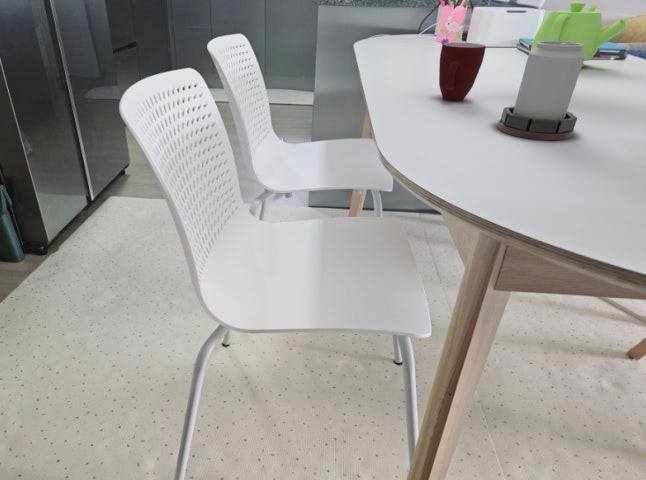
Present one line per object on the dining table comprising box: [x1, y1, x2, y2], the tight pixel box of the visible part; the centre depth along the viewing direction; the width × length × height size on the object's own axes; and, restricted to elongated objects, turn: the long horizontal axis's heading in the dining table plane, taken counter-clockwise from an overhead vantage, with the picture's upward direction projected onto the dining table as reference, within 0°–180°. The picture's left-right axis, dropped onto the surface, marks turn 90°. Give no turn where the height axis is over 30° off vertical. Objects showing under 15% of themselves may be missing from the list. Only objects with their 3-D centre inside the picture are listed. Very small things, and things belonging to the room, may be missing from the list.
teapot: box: [530, 1, 628, 68], centre depth 130 cm, size 25×22×16 cm
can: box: [513, 41, 585, 120], centre depth 72 cm, size 8×8×12 cm
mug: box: [438, 42, 487, 102], centre depth 92 cm, size 10×8×10 cm
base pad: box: [497, 105, 578, 141], centre depth 75 cm, size 11×11×3 cm
